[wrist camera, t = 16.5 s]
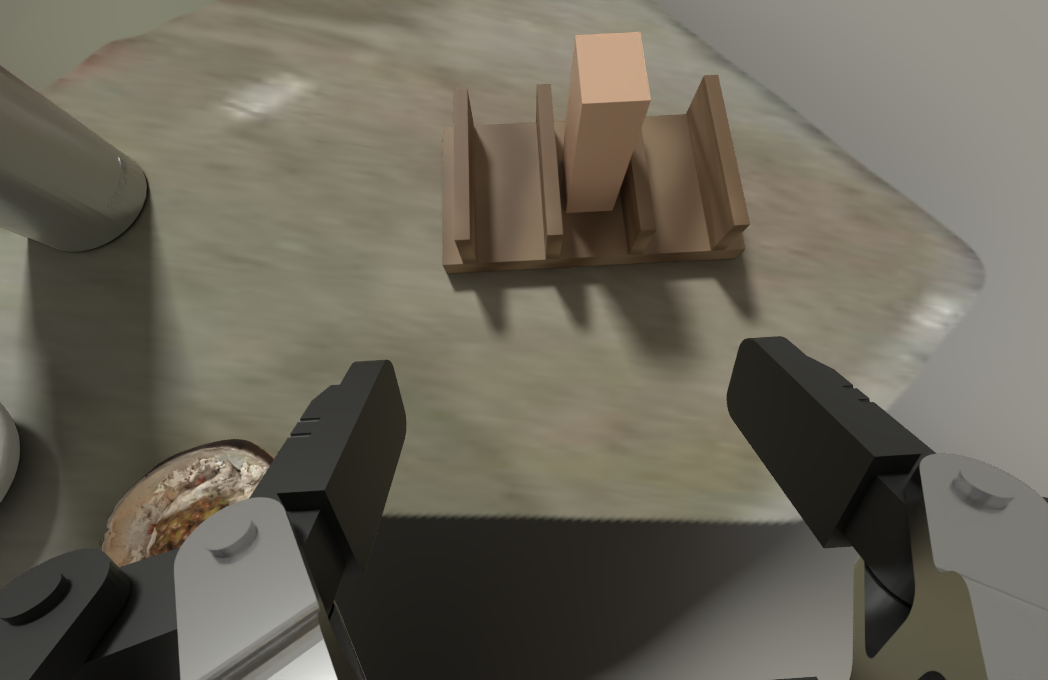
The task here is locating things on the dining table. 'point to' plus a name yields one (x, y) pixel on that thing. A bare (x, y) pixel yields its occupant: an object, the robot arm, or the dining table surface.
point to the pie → (181, 498)
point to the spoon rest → (8, 451)
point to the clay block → (602, 118)
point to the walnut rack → (602, 236)
